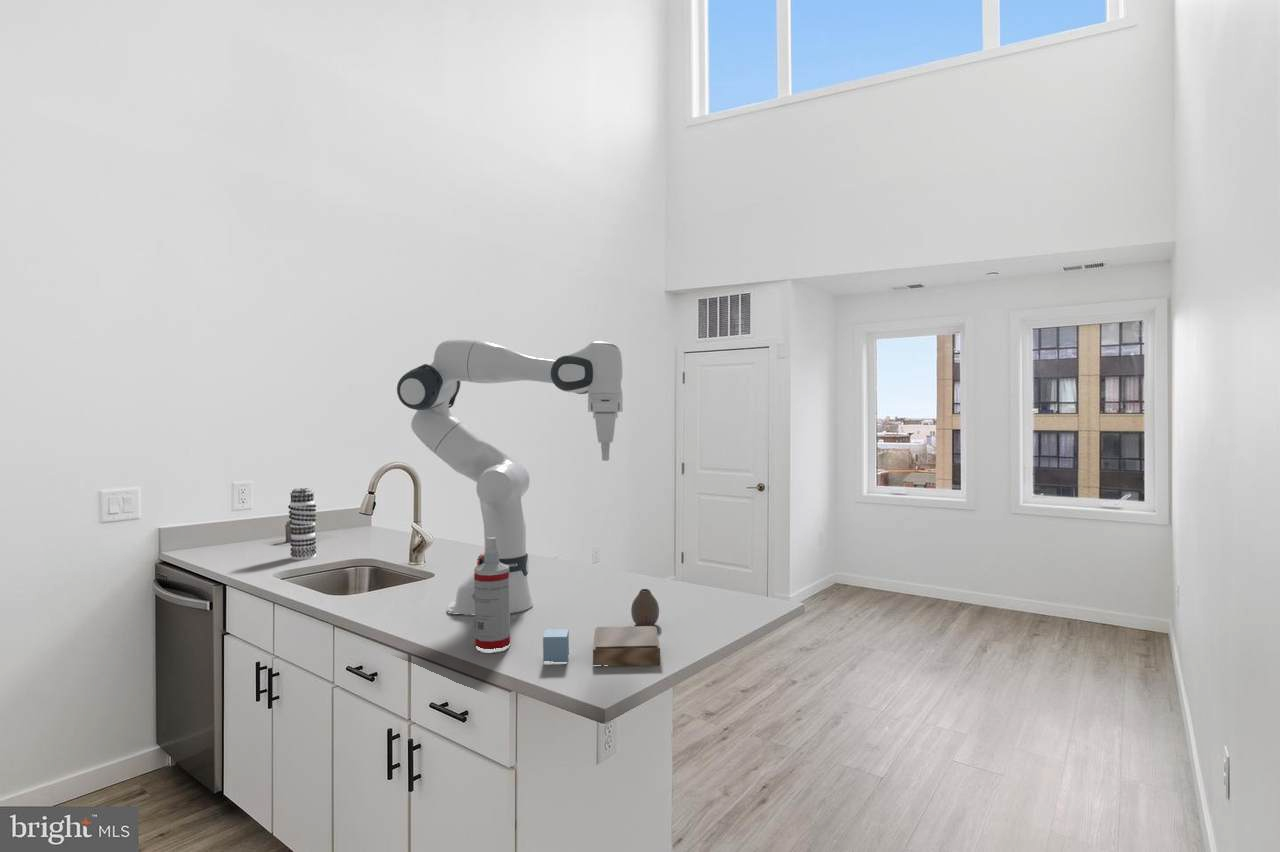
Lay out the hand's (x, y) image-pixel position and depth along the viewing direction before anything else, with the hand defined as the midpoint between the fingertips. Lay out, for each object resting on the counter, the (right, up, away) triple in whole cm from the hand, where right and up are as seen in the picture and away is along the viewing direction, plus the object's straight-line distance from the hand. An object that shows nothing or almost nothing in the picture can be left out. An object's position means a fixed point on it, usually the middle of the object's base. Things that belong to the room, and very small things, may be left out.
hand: (605, 459), depth 180 cm
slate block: (-9, -42, -30) cm, 52 cm away
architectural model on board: (-131, -39, +109) cm, 175 cm away
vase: (+10, -41, -7) cm, 43 cm away
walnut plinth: (+6, -41, -27) cm, 50 cm away
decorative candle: (-114, -40, +75) cm, 142 cm away
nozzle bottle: (-24, -42, -22) cm, 53 cm away
